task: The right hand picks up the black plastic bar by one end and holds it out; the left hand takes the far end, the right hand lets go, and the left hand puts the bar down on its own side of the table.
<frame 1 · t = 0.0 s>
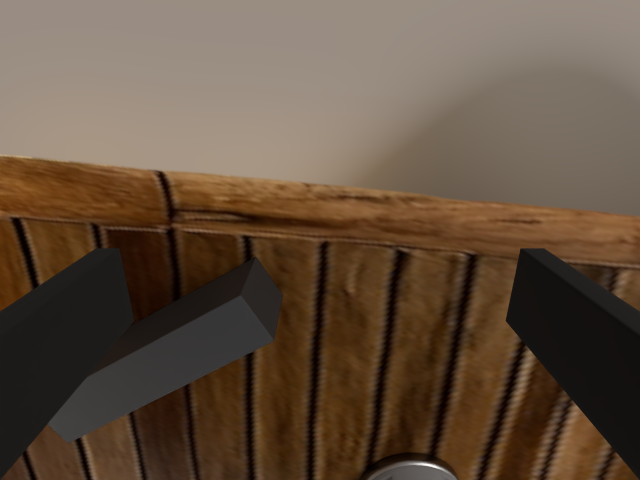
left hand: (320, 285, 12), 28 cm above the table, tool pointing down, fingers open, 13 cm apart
bar: (178, 324, 46), on the table
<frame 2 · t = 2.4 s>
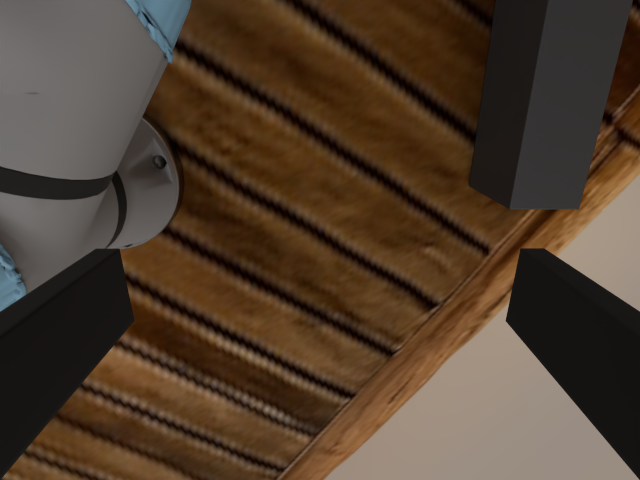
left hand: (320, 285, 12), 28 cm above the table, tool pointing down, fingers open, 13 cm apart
bar: (520, 44, 34), on the table, touching right hand
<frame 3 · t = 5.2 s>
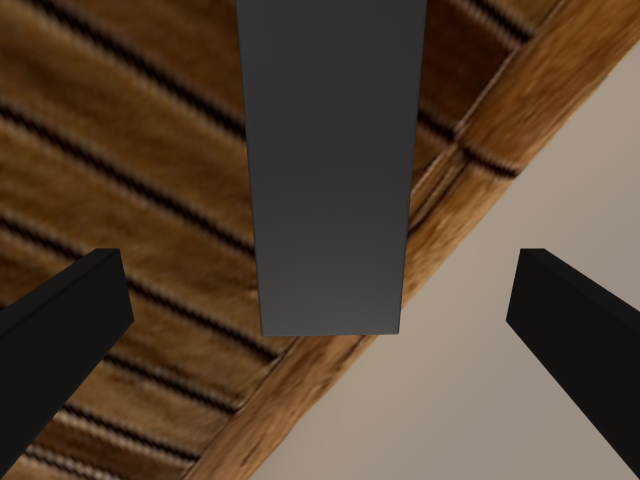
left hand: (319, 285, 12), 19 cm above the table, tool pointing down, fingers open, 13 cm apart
bar: (323, 13, 19), point 8 cm above the table, touching right hand
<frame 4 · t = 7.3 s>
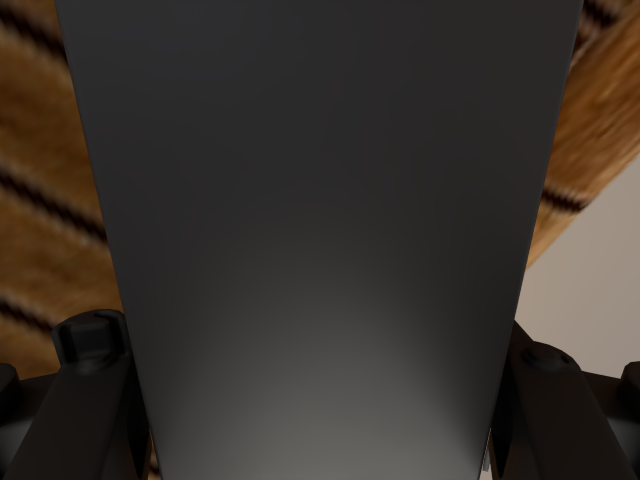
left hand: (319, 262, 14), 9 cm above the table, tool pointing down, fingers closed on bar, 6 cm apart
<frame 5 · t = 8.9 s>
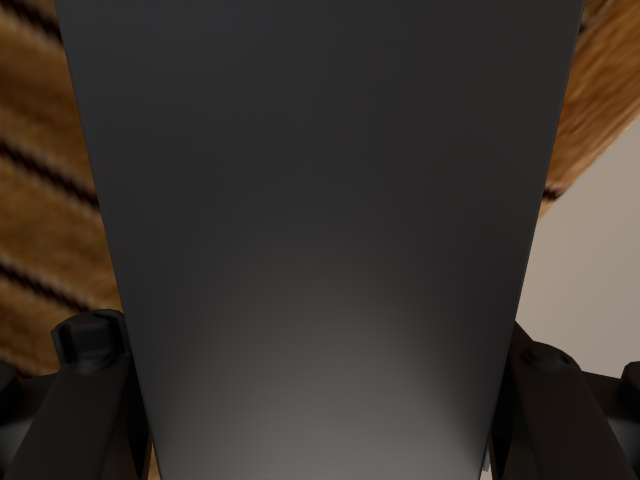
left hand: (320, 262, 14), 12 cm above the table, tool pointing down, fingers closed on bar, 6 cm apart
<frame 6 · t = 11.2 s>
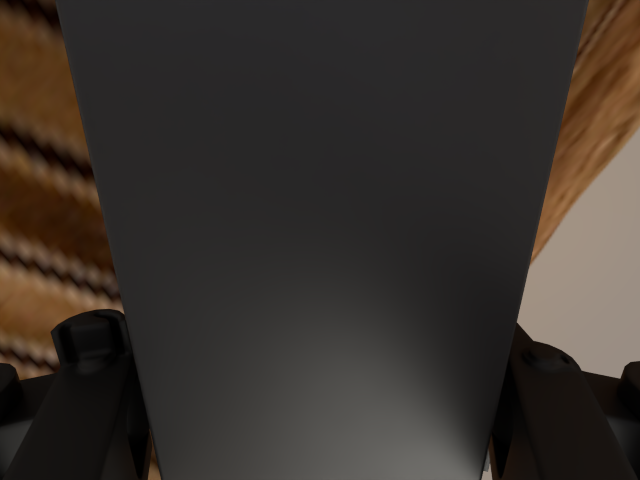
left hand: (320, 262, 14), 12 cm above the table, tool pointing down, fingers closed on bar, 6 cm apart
when the left hand's fingers open (2 cm above the table, at t = 15.5 s): bar stays where it is, on the table.
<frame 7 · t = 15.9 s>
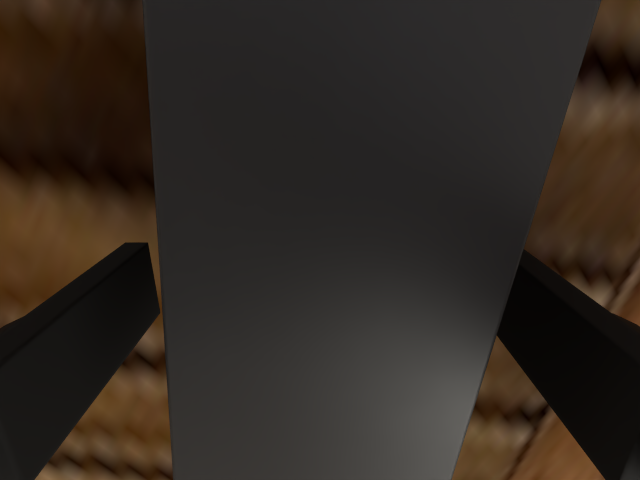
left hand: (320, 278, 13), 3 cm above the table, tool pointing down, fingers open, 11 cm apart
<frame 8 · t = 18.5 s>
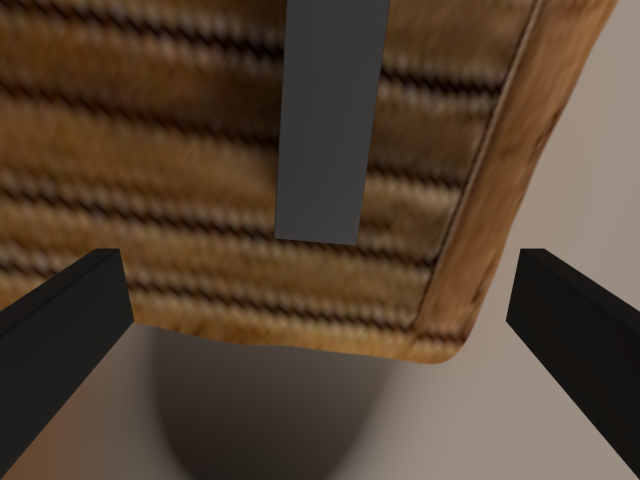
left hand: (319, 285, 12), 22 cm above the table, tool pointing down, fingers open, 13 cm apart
bar: (331, 46, 30), on the table
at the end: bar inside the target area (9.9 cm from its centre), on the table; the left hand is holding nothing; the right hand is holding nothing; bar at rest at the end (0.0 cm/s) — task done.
